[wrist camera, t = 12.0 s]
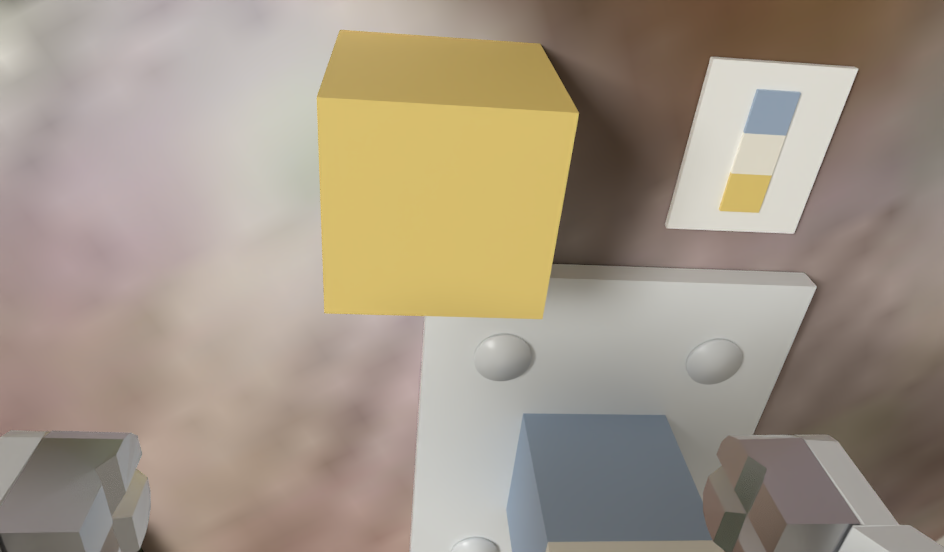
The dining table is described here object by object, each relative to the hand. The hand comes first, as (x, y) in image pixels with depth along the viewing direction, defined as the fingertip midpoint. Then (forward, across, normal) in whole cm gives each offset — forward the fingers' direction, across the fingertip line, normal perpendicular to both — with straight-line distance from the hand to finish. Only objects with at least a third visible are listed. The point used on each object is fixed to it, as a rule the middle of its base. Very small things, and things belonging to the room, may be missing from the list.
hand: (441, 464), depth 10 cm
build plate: (+11, -6, +11) cm, 17 cm away
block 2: (+10, -6, +11) cm, 16 cm away
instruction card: (+11, -9, -1) cm, 14 cm away
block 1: (+11, 0, -1) cm, 11 cm away
